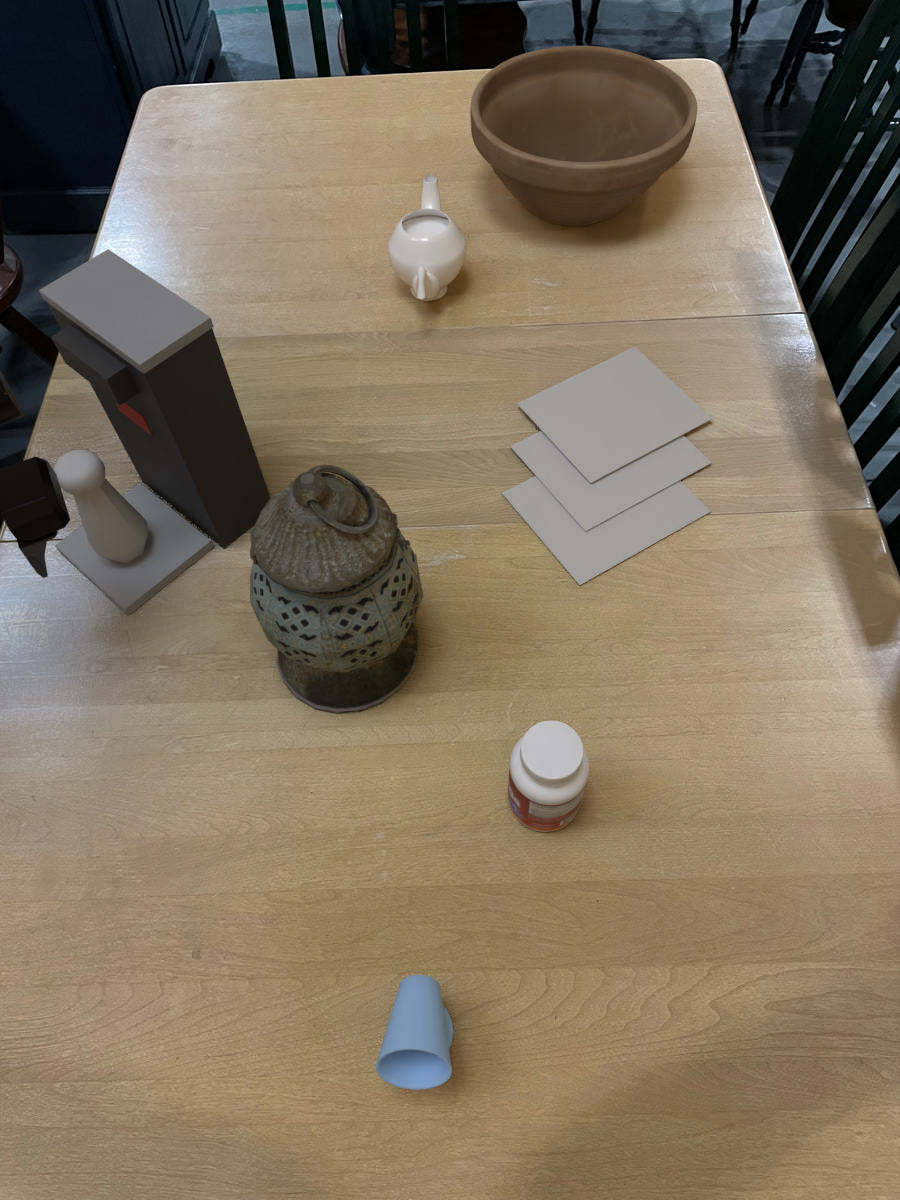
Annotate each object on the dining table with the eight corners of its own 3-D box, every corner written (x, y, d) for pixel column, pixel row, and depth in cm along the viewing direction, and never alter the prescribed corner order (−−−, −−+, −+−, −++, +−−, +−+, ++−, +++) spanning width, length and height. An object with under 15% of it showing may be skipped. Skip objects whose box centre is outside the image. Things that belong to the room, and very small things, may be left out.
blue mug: (455, 1093, 61) (457, 988, 65) (450, 1087, 52) (452, 967, 56) (386, 1091, 61) (392, 987, 65) (370, 1085, 53) (378, 965, 56)
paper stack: (771, 477, 90) (773, 473, 89) (579, 585, 83) (580, 581, 83) (633, 351, 101) (634, 346, 100) (454, 438, 94) (454, 433, 94)
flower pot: (679, 143, 123) (697, 45, 112) (677, 268, 109) (699, 169, 97) (485, 135, 127) (485, 39, 115) (458, 255, 112) (455, 158, 101)
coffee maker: (134, 622, 83) (14, 448, 62) (53, 546, 89) (-84, 362, 67) (276, 508, 90) (210, 317, 69) (192, 444, 96) (107, 248, 74)
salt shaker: (130, 515, 89) (79, 428, 78) (166, 541, 87) (120, 455, 76) (86, 552, 87) (27, 467, 76) (123, 579, 85) (68, 497, 74)
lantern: (319, 569, 86) (264, 384, 65) (449, 612, 82) (436, 433, 61) (251, 685, 79) (164, 522, 58) (389, 738, 76) (351, 585, 55)
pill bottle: (509, 760, 74) (512, 707, 65) (580, 766, 74) (594, 712, 64) (505, 831, 71) (507, 785, 61) (579, 837, 70) (593, 791, 61)
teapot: (385, 342, 103) (376, 276, 95) (399, 240, 114) (392, 174, 106) (463, 342, 103) (461, 277, 95) (470, 240, 113) (469, 173, 105)
